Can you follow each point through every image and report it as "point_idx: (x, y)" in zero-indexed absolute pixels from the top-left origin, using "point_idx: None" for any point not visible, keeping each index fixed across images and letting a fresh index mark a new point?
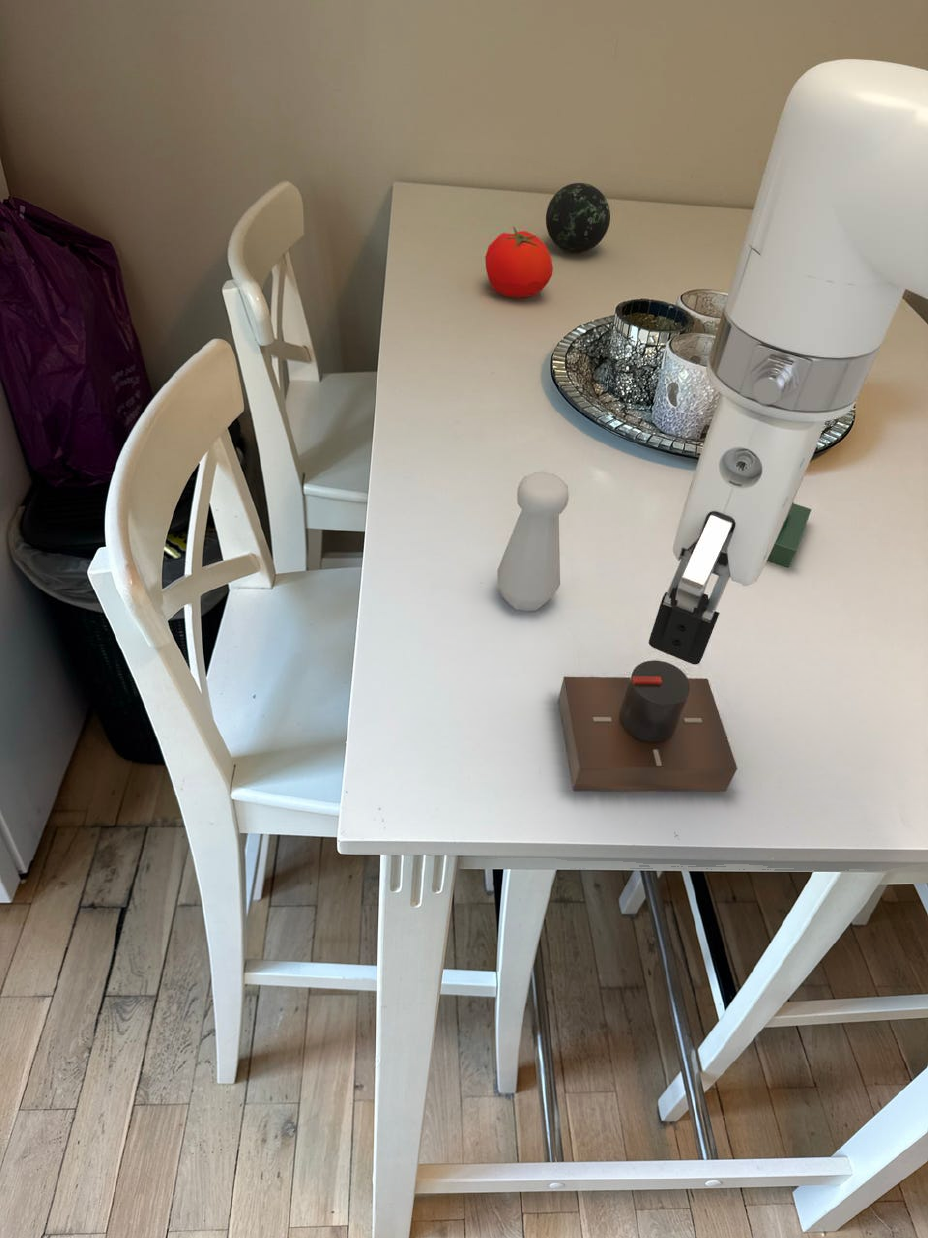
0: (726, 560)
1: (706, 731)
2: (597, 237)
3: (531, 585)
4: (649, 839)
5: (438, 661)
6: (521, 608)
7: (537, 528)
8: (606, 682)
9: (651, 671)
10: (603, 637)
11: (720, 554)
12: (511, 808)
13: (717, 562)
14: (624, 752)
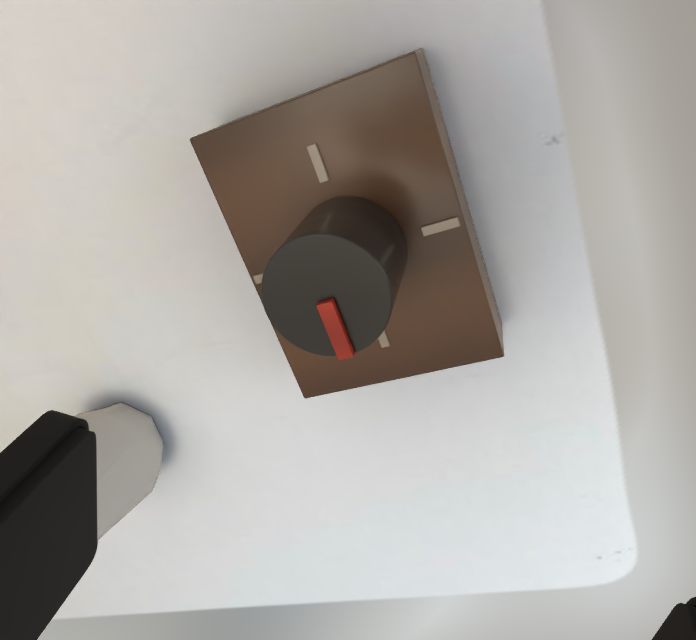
0: (75, 505)
1: (334, 130)
2: None
3: (134, 473)
4: (574, 188)
5: (314, 524)
6: (159, 439)
7: None
8: None
9: (302, 319)
10: (149, 310)
11: (64, 539)
12: (559, 406)
13: (89, 506)
14: (444, 285)
